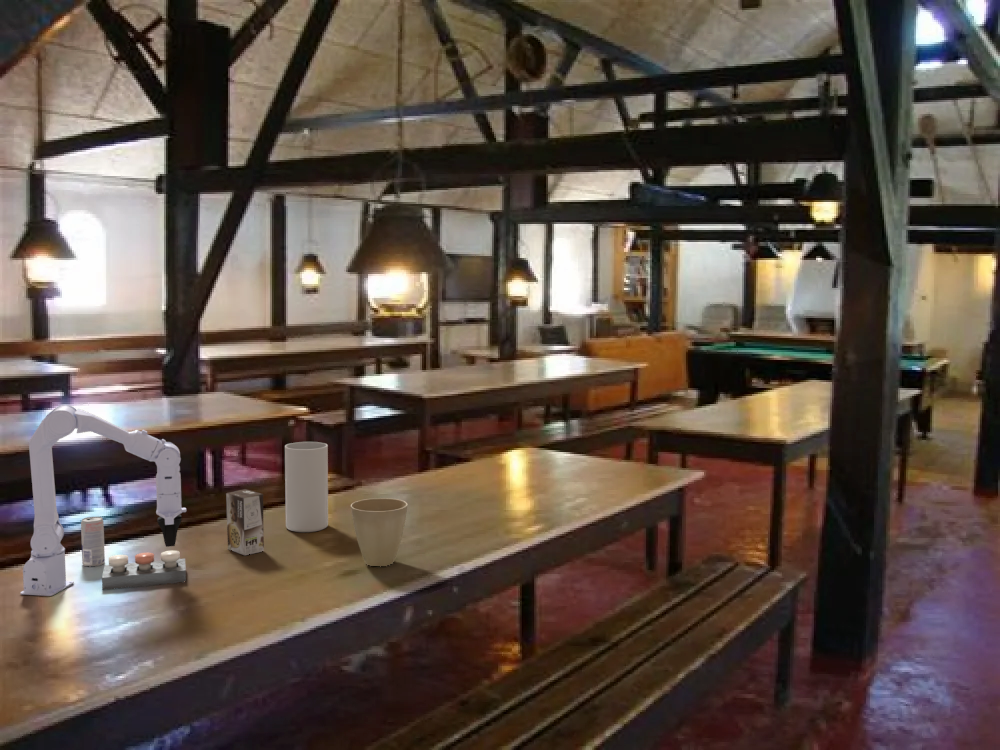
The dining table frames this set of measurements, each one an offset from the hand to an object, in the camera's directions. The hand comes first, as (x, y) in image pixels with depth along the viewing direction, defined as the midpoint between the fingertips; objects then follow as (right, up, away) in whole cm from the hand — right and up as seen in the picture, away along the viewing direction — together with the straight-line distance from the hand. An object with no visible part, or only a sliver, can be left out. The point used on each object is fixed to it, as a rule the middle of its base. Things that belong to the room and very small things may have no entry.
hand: (170, 545), depth 229 cm
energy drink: (-24, -7, +10) cm, 27 cm away
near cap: (-11, -6, -3) cm, 13 cm away
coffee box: (+12, -6, +24) cm, 28 cm away
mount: (-6, -8, -1) cm, 10 cm away
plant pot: (+50, -8, +15) cm, 53 cm away
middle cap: (-6, -6, -1) cm, 9 cm away
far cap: (0, -6, +1) cm, 6 cm away
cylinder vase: (+24, -4, +48) cm, 54 cm away
